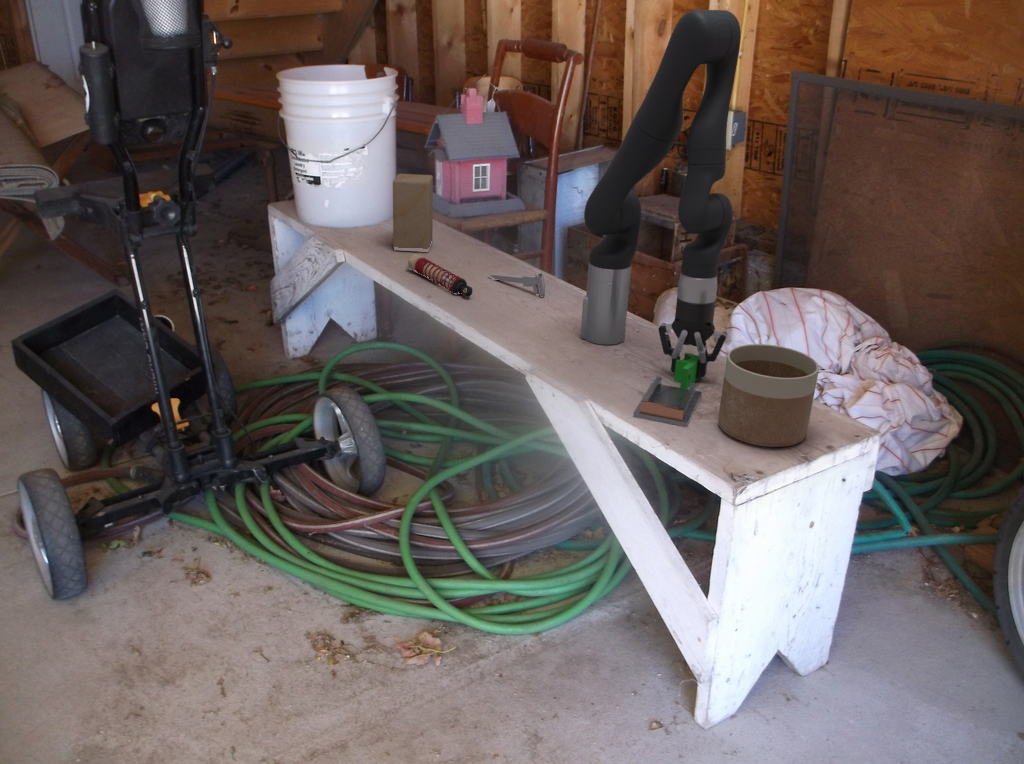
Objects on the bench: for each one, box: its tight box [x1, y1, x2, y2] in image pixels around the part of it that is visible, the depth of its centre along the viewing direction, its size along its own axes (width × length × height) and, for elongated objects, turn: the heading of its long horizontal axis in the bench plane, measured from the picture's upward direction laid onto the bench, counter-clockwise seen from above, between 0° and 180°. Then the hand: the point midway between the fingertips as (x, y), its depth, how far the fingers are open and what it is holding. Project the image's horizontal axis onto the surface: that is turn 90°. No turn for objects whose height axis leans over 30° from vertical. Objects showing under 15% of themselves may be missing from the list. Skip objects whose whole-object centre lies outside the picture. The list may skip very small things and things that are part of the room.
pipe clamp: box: [673, 351, 710, 389], centre depth 192 cm, size 11×4×5 cm, turn 148°
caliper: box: [489, 272, 546, 297], centre depth 241 cm, size 20×1×6 cm, turn 43°
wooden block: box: [392, 173, 434, 249], centre depth 267 cm, size 10×10×20 cm
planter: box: [717, 343, 820, 448], centre depth 171 cm, size 16×16×14 cm
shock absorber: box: [407, 253, 473, 298], centre depth 242 cm, size 5×5×30 cm
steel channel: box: [632, 375, 703, 427], centre depth 180 cm, size 10×15×3 cm, turn 159°
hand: (687, 375), depth 193 cm, fingers closed on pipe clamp, 4 cm apart
